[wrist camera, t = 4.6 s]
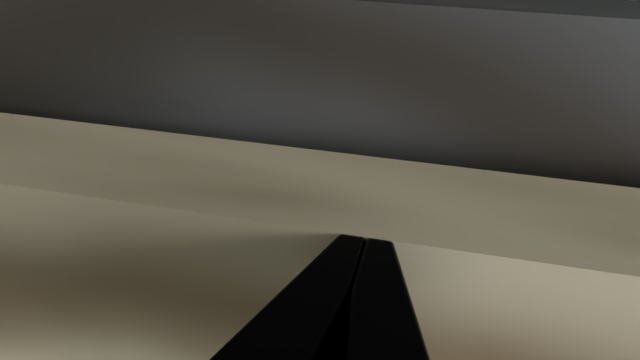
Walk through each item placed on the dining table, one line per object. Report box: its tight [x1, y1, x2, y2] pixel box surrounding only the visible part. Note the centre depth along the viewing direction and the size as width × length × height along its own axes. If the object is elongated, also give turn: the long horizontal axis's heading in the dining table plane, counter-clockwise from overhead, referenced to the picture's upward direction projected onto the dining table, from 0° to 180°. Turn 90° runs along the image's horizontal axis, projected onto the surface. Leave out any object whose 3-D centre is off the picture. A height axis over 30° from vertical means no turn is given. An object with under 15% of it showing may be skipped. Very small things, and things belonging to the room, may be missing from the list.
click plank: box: [0, 112, 640, 360], centre depth 12 cm, size 7×20×2 cm, turn 91°
